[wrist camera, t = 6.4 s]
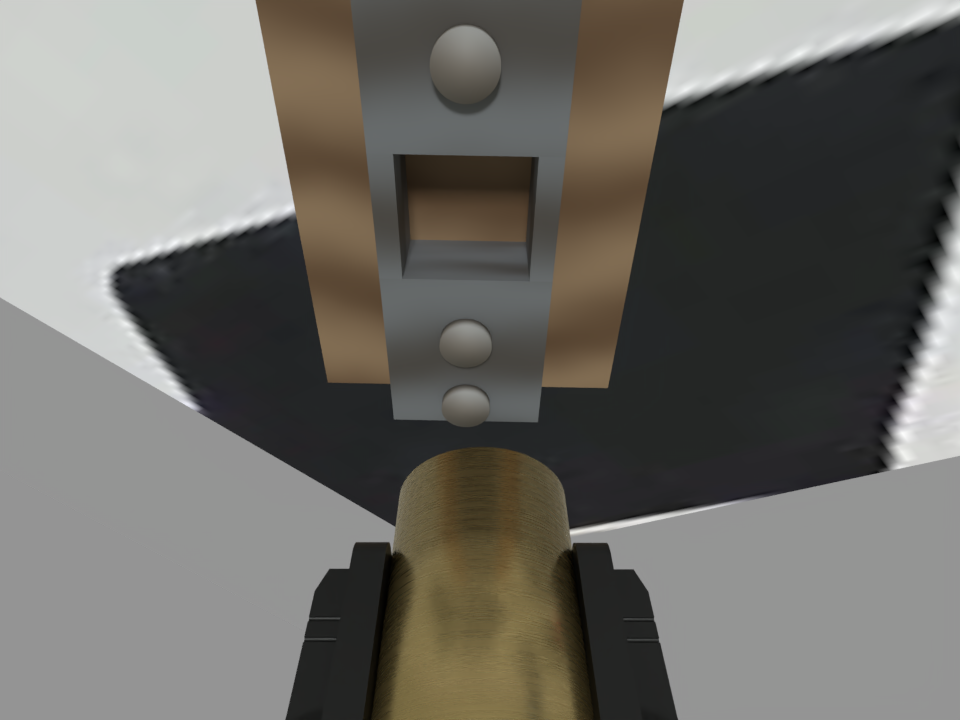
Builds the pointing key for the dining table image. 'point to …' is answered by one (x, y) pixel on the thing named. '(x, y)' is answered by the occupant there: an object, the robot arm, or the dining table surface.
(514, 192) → the board
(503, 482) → the pin
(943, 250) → the dining table surface
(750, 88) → the dining table surface
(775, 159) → the dining table surface
